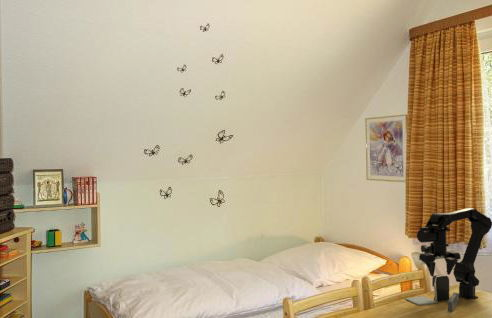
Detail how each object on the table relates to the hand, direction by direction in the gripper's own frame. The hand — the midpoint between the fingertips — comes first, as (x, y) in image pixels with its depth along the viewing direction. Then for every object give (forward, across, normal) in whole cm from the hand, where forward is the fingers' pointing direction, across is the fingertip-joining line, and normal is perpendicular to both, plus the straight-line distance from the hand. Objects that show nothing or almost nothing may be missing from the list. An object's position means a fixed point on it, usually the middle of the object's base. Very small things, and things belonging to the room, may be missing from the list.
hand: (440, 275), depth 191 cm
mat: (+11, +10, -2) cm, 15 cm away
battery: (+12, 0, 0) cm, 12 cm away
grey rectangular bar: (+11, +2, +9) cm, 14 cm away
